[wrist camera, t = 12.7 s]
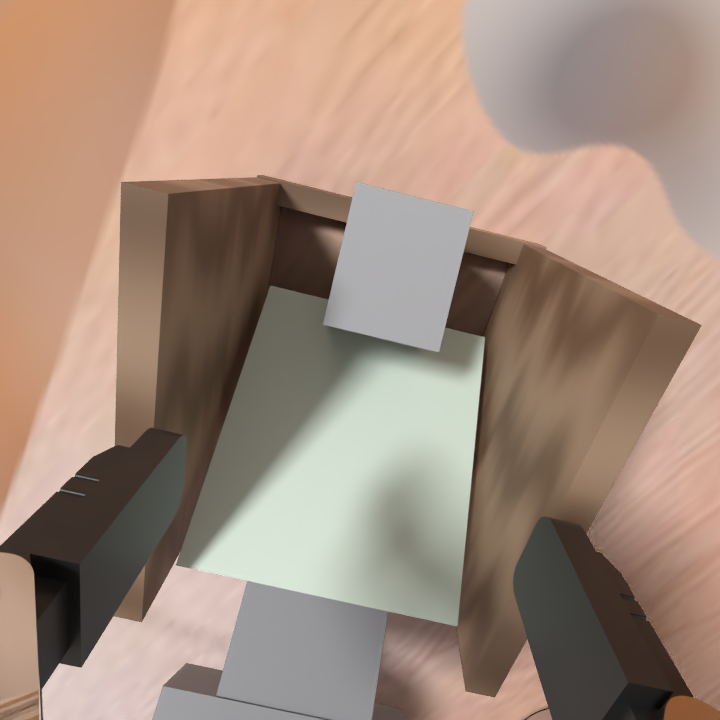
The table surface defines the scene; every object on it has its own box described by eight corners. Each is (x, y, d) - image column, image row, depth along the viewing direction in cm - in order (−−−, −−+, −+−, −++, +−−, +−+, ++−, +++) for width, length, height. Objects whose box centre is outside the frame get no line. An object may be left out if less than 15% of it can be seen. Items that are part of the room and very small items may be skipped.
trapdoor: (407, 826, 19) (433, 888, 16) (128, 769, 19) (89, 820, 15) (461, 364, 28) (485, 336, 25) (273, 319, 28) (270, 284, 24)
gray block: (420, 349, 24) (447, 237, 24) (439, 352, 19) (473, 211, 19) (328, 327, 24) (354, 214, 24) (322, 324, 19) (356, 182, 19)
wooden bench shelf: (450, 478, 31) (494, 697, 18) (228, 427, 30) (111, 615, 18) (539, 244, 25) (703, 321, 12) (263, 175, 24) (121, 178, 11)
